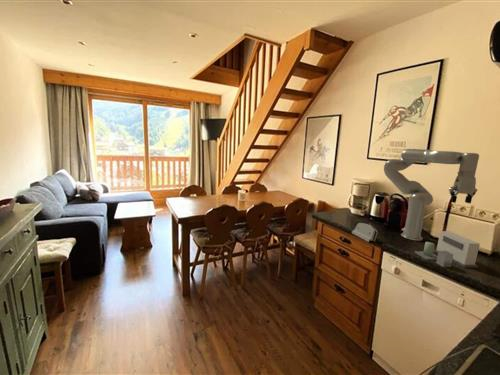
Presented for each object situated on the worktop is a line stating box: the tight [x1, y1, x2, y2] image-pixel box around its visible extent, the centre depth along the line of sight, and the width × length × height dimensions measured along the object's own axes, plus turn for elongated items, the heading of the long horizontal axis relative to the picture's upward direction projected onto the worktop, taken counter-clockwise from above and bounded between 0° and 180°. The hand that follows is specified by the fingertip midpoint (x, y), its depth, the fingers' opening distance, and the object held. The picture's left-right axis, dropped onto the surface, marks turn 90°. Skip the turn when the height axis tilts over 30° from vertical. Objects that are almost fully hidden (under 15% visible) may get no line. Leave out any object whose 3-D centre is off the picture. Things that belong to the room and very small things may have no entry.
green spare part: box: [422, 241, 436, 257], centre depth 141 cm, size 4×4×7 cm
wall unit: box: [433, 230, 481, 269], centre depth 138 cm, size 20×8×13 cm, turn 5°
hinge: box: [351, 222, 379, 243], centre depth 166 cm, size 17×5×10 cm, turn 17°
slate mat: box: [414, 250, 438, 261], centre depth 141 cm, size 9×9×1 cm
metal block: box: [435, 251, 453, 268], centre depth 131 cm, size 4×4×7 cm
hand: (460, 202), depth 147 cm, fingers open, 9 cm apart
